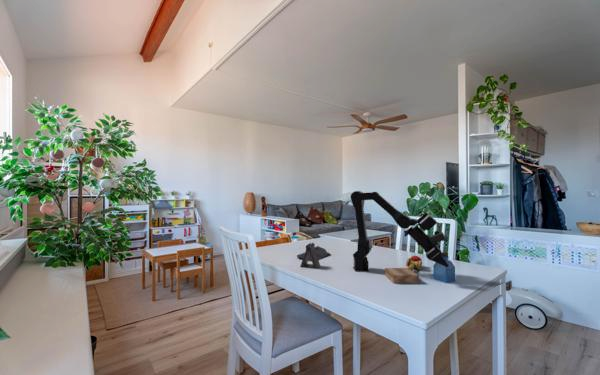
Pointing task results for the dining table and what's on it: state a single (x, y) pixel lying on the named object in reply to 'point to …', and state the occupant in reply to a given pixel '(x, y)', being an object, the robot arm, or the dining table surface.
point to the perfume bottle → (444, 270)
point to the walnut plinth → (401, 275)
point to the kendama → (414, 263)
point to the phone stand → (311, 251)
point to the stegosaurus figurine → (320, 254)
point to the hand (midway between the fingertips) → (447, 263)
